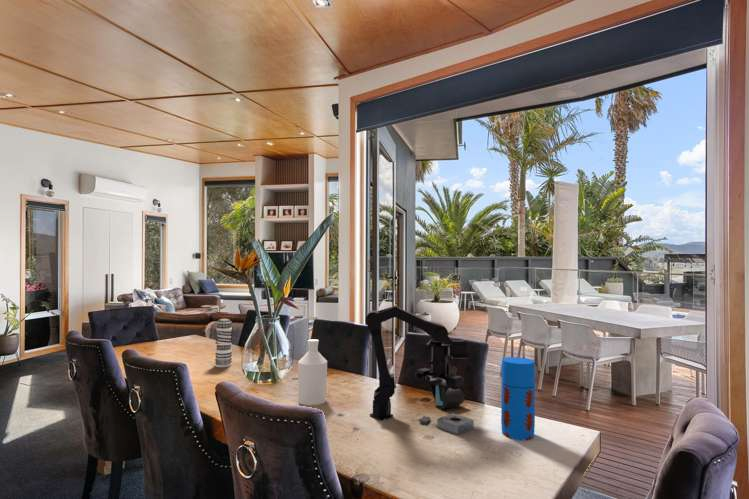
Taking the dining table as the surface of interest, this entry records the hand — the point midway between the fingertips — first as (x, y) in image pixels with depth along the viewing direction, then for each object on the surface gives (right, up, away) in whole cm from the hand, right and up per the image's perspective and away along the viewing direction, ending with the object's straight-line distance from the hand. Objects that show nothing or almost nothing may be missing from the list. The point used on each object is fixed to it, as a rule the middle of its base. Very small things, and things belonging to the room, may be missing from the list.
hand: (438, 400), depth 169 cm
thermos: (+25, -7, -15) cm, 30 cm away
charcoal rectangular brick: (-6, -7, -5) cm, 10 cm away
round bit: (0, -2, 0) cm, 2 cm away
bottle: (-50, -7, +18) cm, 53 cm away
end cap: (+6, -7, +12) cm, 15 cm away
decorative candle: (-106, -7, +77) cm, 132 cm away
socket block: (+4, -6, -10) cm, 13 cm away
